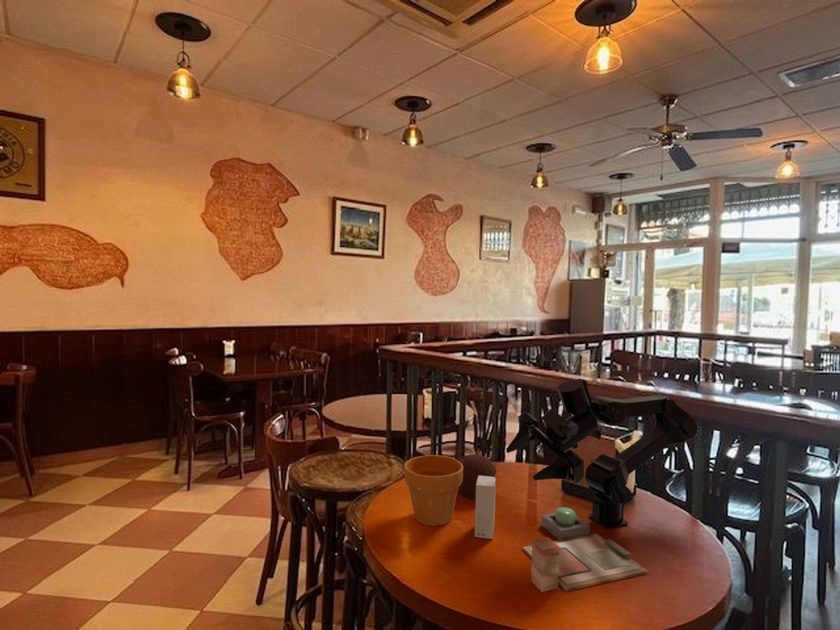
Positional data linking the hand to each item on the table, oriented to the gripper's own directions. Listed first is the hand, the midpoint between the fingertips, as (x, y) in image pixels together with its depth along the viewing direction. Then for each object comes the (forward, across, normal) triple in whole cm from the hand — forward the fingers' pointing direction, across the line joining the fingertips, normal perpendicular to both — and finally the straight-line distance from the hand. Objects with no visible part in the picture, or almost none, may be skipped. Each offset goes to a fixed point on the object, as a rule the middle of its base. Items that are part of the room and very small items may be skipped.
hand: (519, 464), depth 104 cm
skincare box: (+12, 0, +15) cm, 19 cm away
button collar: (-5, +8, +19) cm, 21 cm away
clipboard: (-1, +18, +13) cm, 22 cm away
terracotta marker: (+11, +20, +7) cm, 23 cm away
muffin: (+4, -17, +26) cm, 31 cm away
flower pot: (+19, -11, +16) cm, 27 cm away
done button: (-6, +8, +18) cm, 20 cm away
